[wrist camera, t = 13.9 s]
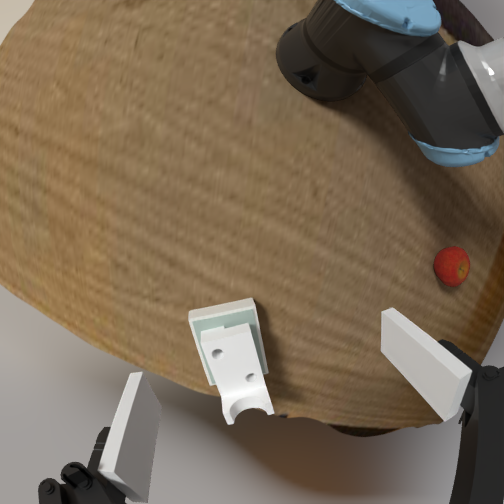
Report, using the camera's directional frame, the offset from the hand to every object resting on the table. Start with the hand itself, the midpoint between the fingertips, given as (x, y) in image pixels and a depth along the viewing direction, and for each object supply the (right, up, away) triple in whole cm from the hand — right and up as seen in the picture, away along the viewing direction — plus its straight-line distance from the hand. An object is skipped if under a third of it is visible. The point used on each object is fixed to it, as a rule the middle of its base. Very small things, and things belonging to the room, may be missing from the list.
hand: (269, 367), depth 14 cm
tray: (-5, -8, +31) cm, 32 cm away
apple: (+38, +4, +35) cm, 51 cm away
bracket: (-4, -11, +29) cm, 31 cm away
